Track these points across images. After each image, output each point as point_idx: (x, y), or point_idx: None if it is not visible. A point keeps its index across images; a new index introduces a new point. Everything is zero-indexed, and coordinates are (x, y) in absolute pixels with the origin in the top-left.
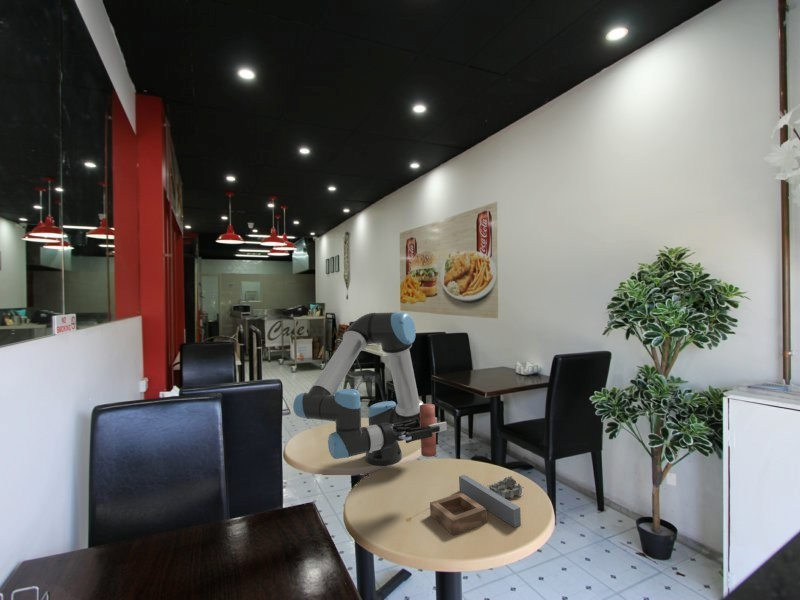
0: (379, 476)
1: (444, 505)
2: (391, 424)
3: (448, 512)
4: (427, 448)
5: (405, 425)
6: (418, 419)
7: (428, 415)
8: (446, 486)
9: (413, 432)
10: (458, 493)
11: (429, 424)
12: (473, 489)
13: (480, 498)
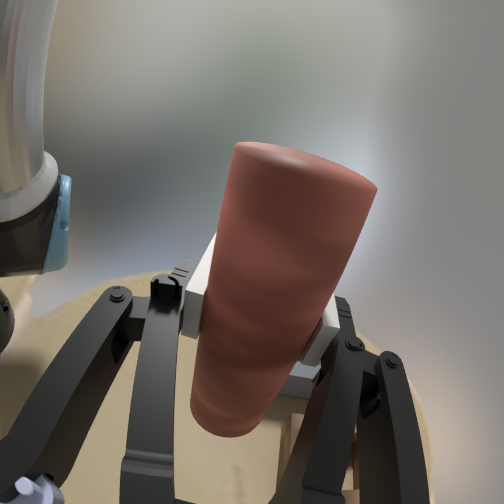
0: (5, 416)
1: None
2: (4, 479)
3: (354, 493)
4: (261, 414)
5: (166, 449)
6: (182, 286)
7: (348, 258)
8: (186, 384)
9: (418, 502)
10: (291, 421)
11: (321, 315)
12: (290, 381)
13: (311, 391)
